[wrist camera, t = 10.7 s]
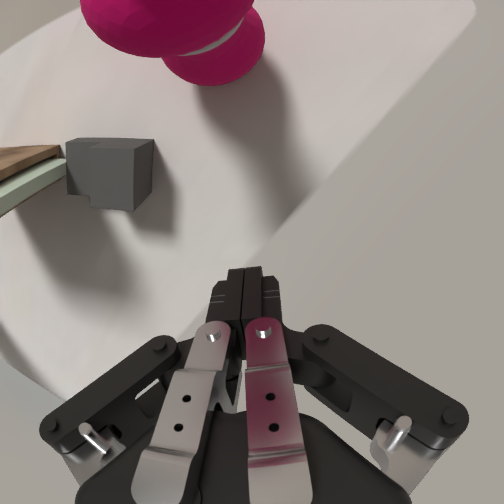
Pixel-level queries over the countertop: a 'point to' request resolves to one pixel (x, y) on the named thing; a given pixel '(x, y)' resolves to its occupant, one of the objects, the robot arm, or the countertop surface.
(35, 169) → the sliding door
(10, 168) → the brown upright flat box
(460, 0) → the countertop surface
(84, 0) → the pepper mill
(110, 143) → the block
